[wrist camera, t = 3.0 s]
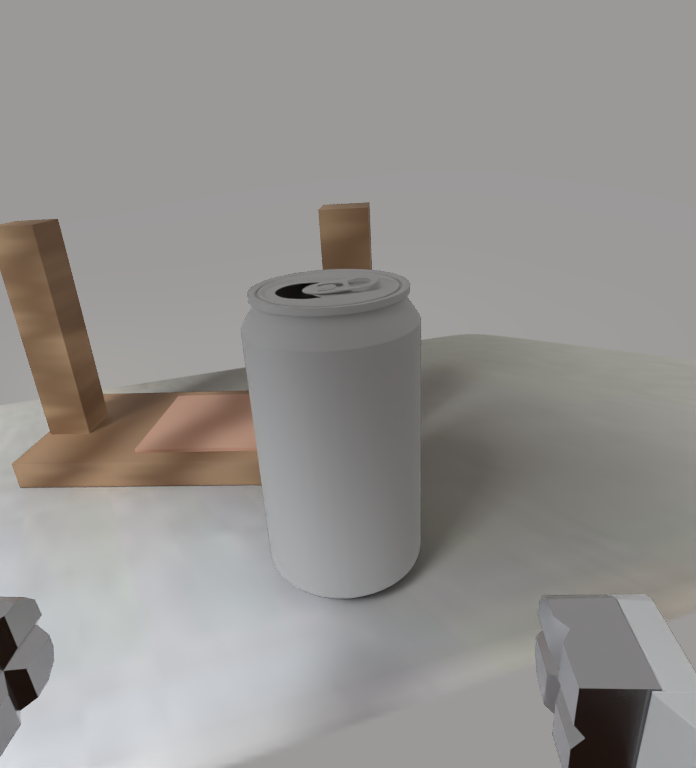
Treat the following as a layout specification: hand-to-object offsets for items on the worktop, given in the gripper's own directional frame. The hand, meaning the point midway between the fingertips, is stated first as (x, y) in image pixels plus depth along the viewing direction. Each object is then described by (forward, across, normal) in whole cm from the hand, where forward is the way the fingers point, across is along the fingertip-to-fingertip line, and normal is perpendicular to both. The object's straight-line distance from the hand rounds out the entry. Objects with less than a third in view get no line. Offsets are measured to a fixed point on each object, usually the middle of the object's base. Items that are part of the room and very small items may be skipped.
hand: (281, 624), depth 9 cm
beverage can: (+12, 0, +9) cm, 16 cm away
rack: (+22, +9, +9) cm, 26 cm away
